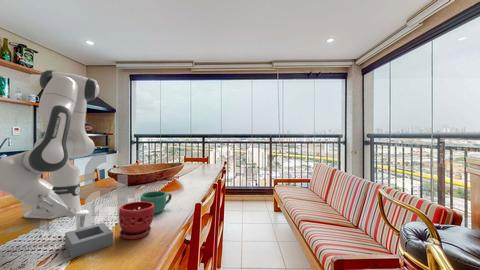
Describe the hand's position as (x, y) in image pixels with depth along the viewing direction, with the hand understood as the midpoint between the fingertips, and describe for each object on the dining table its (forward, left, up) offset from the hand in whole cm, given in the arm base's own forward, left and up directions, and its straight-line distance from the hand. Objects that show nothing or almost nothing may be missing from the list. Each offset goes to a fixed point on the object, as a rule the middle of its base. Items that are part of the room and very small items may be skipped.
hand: (70, 212), depth 82 cm
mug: (+26, +26, -9) cm, 38 cm away
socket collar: (+11, -8, -9) cm, 16 cm away
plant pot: (+25, 0, -9) cm, 27 cm away
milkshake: (+2, +2, -9) cm, 10 cm away
